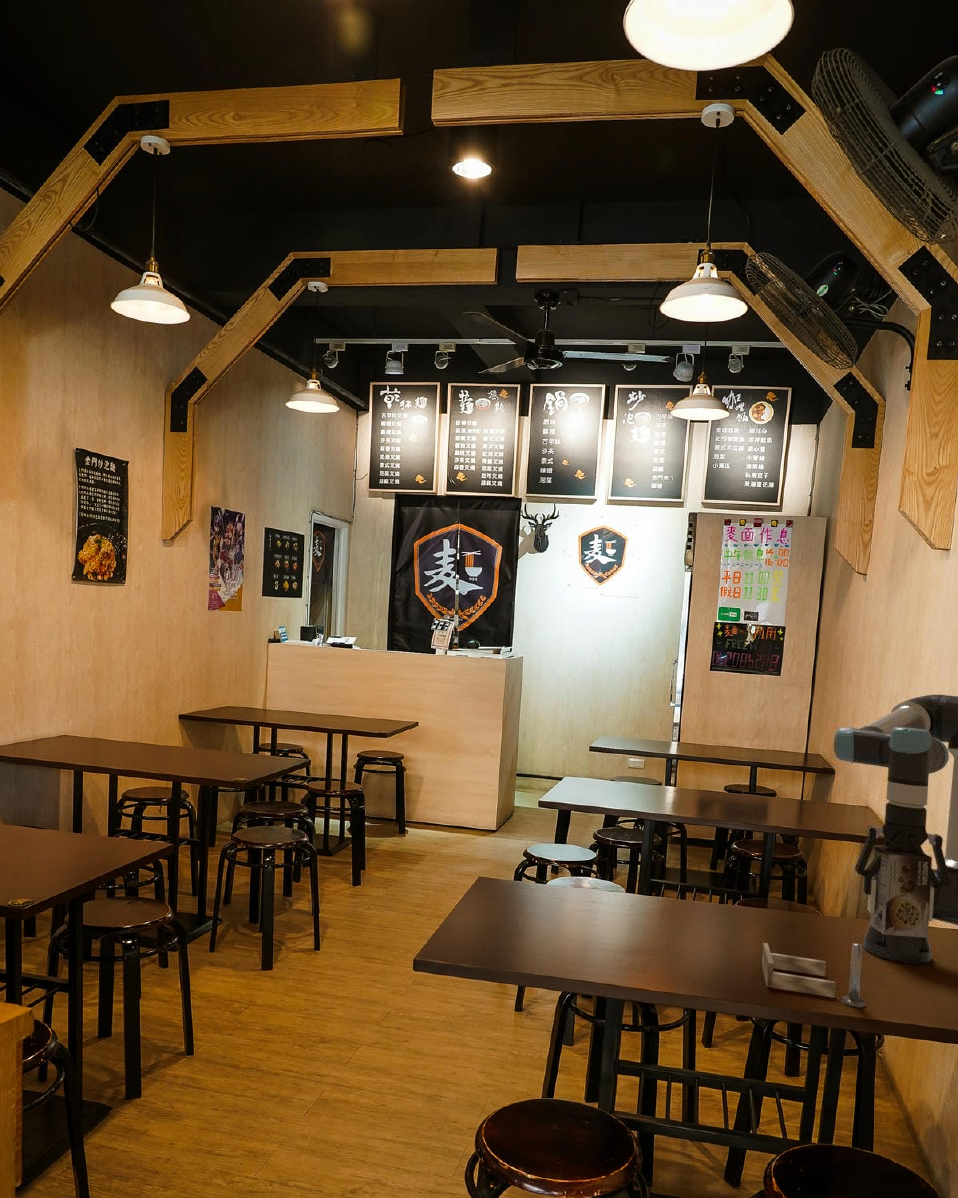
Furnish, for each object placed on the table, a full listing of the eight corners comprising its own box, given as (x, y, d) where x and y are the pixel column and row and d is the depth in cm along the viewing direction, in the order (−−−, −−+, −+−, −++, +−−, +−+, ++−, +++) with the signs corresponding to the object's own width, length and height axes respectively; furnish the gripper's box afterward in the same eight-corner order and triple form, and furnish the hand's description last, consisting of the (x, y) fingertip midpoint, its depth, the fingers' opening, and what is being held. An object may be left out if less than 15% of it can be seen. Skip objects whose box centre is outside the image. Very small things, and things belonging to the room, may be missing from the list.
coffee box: (912, 928, 184) (917, 849, 184) (928, 939, 177) (934, 856, 178) (868, 925, 183) (873, 845, 184) (883, 935, 177) (889, 852, 178)
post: (862, 1001, 186) (866, 943, 187) (867, 1009, 182) (870, 949, 182) (840, 997, 187) (844, 939, 188) (844, 1005, 183) (847, 946, 183)
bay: (824, 975, 200) (825, 952, 201) (834, 997, 187) (835, 973, 187) (761, 965, 204) (763, 942, 204) (767, 986, 190) (768, 963, 190)
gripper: (961, 808, 183) (955, 919, 181) (843, 794, 188) (836, 902, 187) (973, 814, 175) (966, 929, 174) (850, 800, 181) (842, 911, 179)
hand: (899, 915), depth 180 cm, fingers closed on coffee box, 10 cm apart
